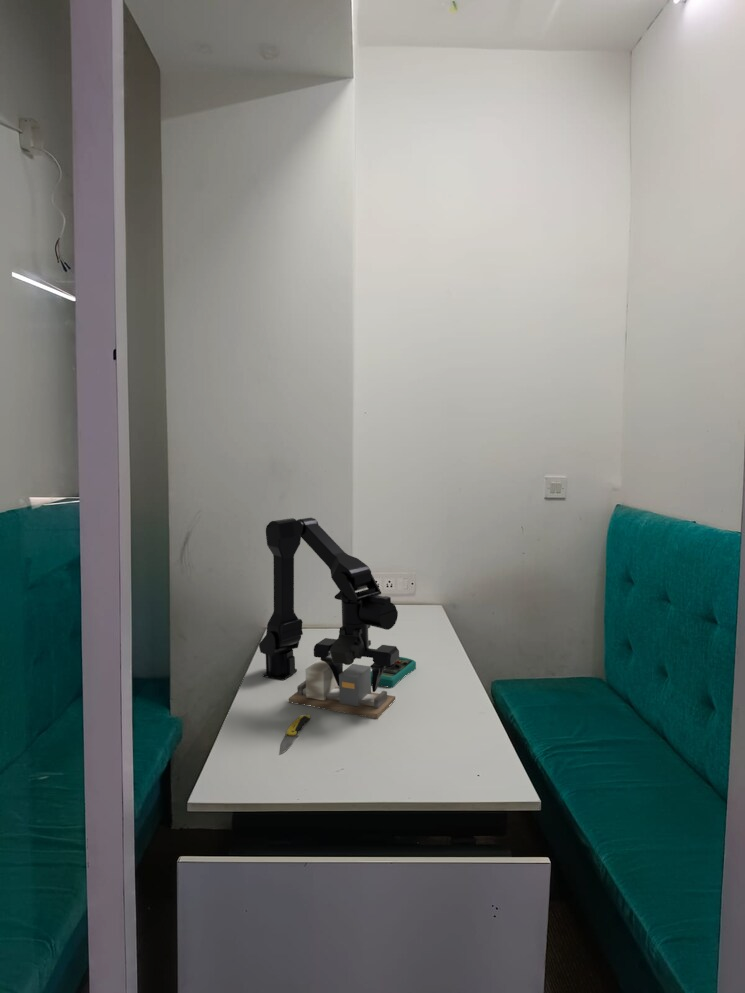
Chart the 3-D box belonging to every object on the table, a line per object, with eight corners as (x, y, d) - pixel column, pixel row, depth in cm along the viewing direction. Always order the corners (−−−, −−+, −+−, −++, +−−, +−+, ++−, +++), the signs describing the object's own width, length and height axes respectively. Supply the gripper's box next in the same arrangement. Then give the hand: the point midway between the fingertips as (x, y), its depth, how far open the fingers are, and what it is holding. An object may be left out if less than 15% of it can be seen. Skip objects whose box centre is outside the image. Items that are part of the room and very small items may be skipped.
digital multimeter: (417, 669, 168) (417, 658, 168) (392, 690, 155) (392, 678, 155) (391, 665, 172) (391, 654, 171) (365, 684, 158) (364, 673, 158)
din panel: (288, 702, 148) (287, 669, 147) (310, 686, 157) (309, 654, 156) (377, 718, 139) (377, 683, 138) (395, 700, 148) (394, 667, 147)
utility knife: (289, 752, 124) (274, 750, 124) (289, 758, 124) (274, 757, 124) (310, 714, 140) (296, 713, 140) (310, 720, 140) (297, 719, 140)
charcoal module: (339, 703, 144) (338, 674, 143) (353, 691, 150) (352, 663, 150) (357, 706, 142) (357, 677, 141) (371, 694, 149) (370, 666, 148)
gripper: (300, 627, 141) (302, 696, 142) (379, 636, 133) (381, 709, 135) (324, 613, 151) (326, 678, 153) (399, 620, 143) (400, 689, 145)
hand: (357, 688), depth 146 cm, fingers open, 8 cm apart
